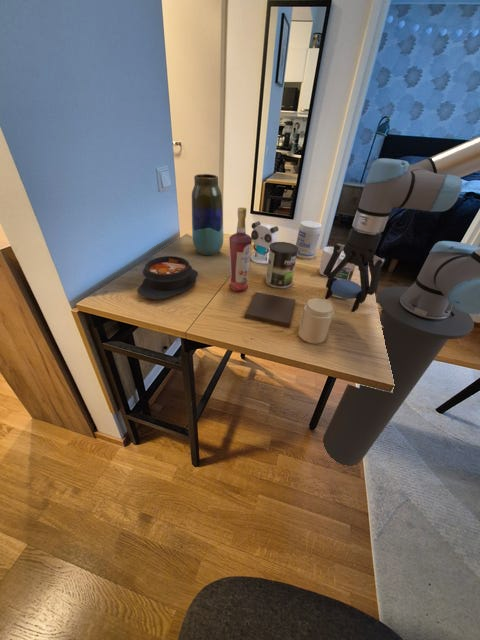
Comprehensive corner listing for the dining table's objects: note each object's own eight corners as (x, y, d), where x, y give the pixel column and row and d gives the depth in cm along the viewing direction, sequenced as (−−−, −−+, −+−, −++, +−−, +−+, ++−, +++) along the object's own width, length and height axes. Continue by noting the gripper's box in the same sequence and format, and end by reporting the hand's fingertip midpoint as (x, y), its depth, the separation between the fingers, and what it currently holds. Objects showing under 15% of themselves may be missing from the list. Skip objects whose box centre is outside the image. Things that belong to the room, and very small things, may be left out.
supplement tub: (292, 257, 120) (297, 224, 111) (296, 249, 127) (302, 219, 118) (313, 261, 118) (320, 228, 109) (316, 253, 125) (323, 222, 116)
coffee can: (297, 283, 101) (304, 248, 92) (279, 291, 95) (285, 255, 87) (277, 273, 107) (282, 239, 98) (259, 280, 101) (263, 245, 92)
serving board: (294, 303, 89) (295, 299, 88) (288, 327, 79) (289, 323, 78) (255, 295, 92) (255, 291, 91) (244, 317, 81) (244, 313, 81)
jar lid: (325, 290, 77) (327, 284, 76) (339, 281, 82) (341, 276, 81) (351, 302, 73) (353, 296, 72) (364, 292, 77) (366, 287, 76)
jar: (326, 329, 79) (335, 300, 72) (325, 346, 72) (335, 316, 66) (299, 323, 80) (306, 294, 74) (296, 339, 74) (303, 309, 68)
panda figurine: (244, 257, 117) (246, 224, 108) (259, 250, 124) (262, 218, 115) (265, 266, 111) (269, 231, 102) (280, 258, 118) (284, 225, 109)
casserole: (170, 266, 107) (167, 247, 102) (209, 277, 101) (209, 257, 96) (125, 295, 88) (119, 272, 83) (169, 310, 83) (166, 287, 78)
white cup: (340, 274, 108) (348, 251, 102) (328, 279, 104) (334, 255, 98) (326, 267, 113) (332, 245, 107) (313, 271, 109) (319, 248, 103)
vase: (193, 246, 125) (189, 172, 106) (222, 246, 127) (222, 173, 108) (192, 258, 114) (187, 178, 95) (224, 258, 116) (225, 179, 97)
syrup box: (328, 295, 94) (339, 258, 85) (329, 288, 99) (340, 252, 90) (344, 299, 93) (357, 261, 84) (345, 291, 97) (357, 255, 88)
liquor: (238, 296, 91) (243, 213, 74) (224, 288, 95) (224, 208, 78) (252, 289, 95) (259, 209, 78) (237, 281, 99) (241, 204, 82)
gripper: (323, 221, 70) (305, 293, 84) (403, 246, 58) (367, 325, 72) (337, 217, 74) (318, 286, 88) (415, 239, 62) (379, 315, 76)
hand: (340, 303), depth 80 cm, fingers closed on jar lid, 8 cm apart
